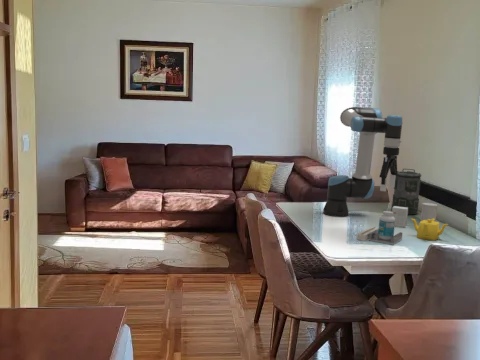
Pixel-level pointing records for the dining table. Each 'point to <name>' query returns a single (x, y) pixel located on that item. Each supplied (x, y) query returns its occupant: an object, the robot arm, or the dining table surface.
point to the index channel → (394, 240)
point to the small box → (400, 216)
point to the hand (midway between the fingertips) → (387, 189)
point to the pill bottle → (386, 226)
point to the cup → (428, 211)
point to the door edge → (365, 234)
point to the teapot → (428, 229)
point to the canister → (407, 190)
